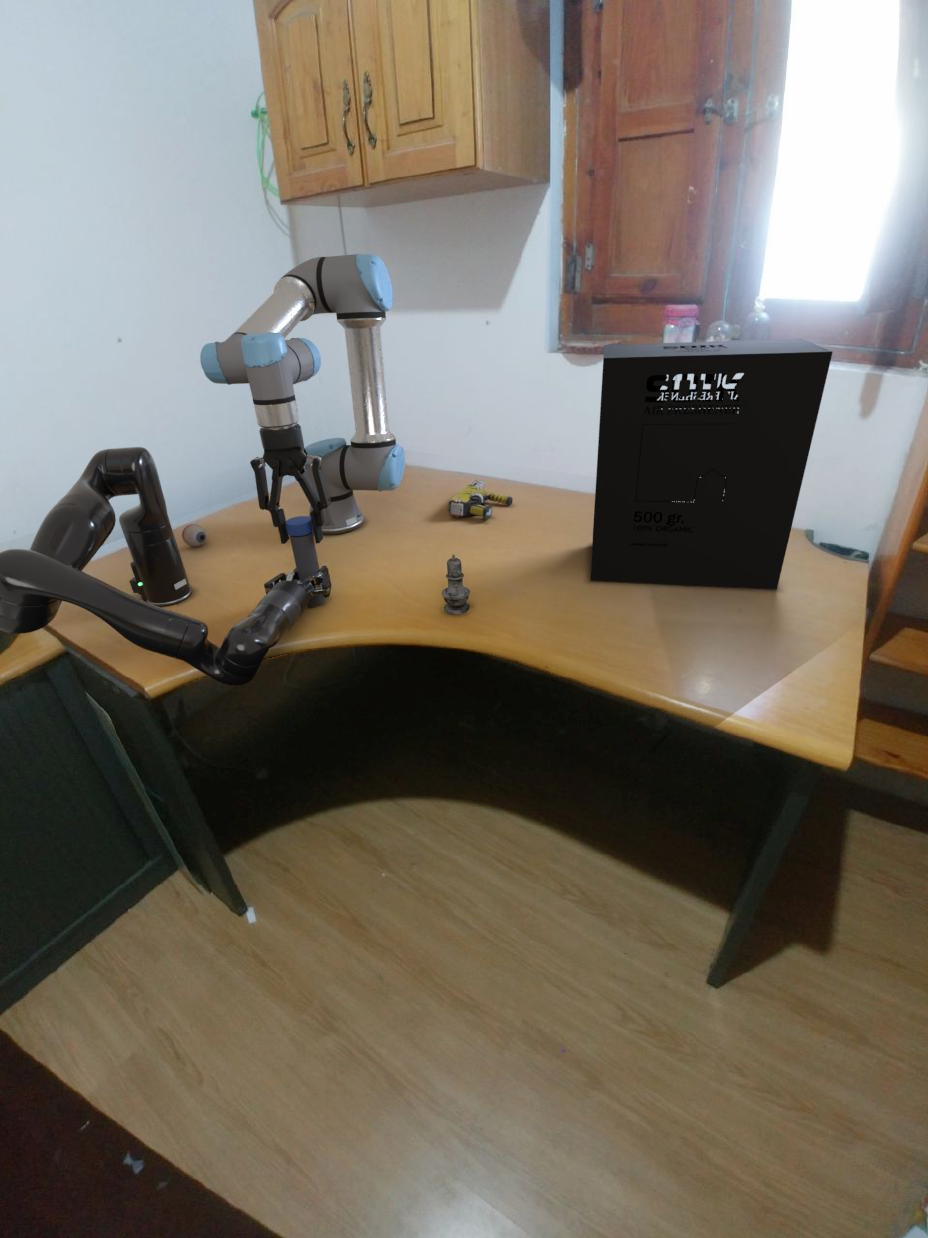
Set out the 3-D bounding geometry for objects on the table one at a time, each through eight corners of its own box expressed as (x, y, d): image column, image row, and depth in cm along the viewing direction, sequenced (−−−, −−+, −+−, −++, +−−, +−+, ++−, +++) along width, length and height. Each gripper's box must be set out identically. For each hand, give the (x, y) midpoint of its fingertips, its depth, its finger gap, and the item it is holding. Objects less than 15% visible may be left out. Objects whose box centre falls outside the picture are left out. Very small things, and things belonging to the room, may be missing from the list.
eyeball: (196, 552, 157) (189, 530, 154) (181, 548, 160) (174, 526, 157) (215, 543, 161) (209, 522, 158) (200, 540, 165) (193, 519, 162)
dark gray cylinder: (314, 595, 133) (299, 518, 124) (329, 599, 131) (315, 521, 122) (299, 604, 129) (282, 525, 121) (314, 608, 127) (298, 529, 118)
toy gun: (520, 484, 182) (474, 477, 186) (498, 508, 162) (446, 499, 166) (519, 500, 184) (473, 492, 188) (497, 524, 164) (445, 516, 168)
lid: (282, 533, 121) (279, 522, 120) (301, 525, 125) (299, 514, 124) (300, 538, 119) (297, 526, 118) (319, 529, 122) (317, 518, 121)
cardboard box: (756, 549, 141) (800, 338, 118) (776, 589, 124) (832, 351, 101) (592, 544, 148) (604, 344, 126) (590, 580, 131) (603, 357, 109)
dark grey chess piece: (468, 615, 121) (465, 561, 115) (439, 614, 122) (435, 559, 116) (473, 601, 126) (471, 548, 120) (446, 600, 127) (442, 547, 121)
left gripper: (250, 623, 118) (286, 584, 132) (320, 626, 115) (348, 585, 130) (241, 589, 114) (279, 552, 128) (313, 591, 112) (343, 553, 126)
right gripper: (336, 419, 114) (353, 533, 125) (237, 422, 116) (263, 534, 127) (324, 428, 107) (344, 547, 119) (220, 431, 109) (249, 548, 121)
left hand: (314, 569), depth 129 cm, fingers closed on dark gray cylinder, 4 cm apart
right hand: (302, 540), depth 123 cm, fingers open, 6 cm apart
